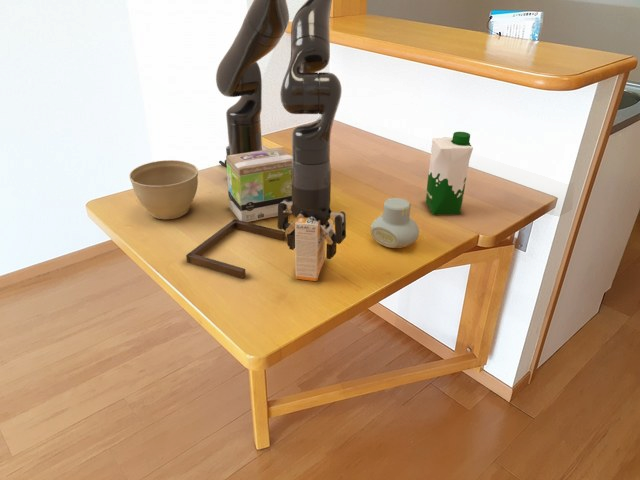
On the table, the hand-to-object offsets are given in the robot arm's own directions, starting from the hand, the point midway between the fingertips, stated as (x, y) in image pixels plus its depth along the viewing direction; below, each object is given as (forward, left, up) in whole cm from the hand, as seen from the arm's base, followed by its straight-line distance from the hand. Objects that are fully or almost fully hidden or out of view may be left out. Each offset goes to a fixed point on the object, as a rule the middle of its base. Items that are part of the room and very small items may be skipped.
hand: (311, 252), depth 106 cm
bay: (-18, 0, -4) cm, 18 cm away
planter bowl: (-44, +8, -4) cm, 45 cm away
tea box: (-23, +19, -4) cm, 30 cm away
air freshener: (+12, +19, -4) cm, 23 cm away
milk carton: (+18, +41, -4) cm, 45 cm away
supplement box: (0, 0, -4) cm, 4 cm away
